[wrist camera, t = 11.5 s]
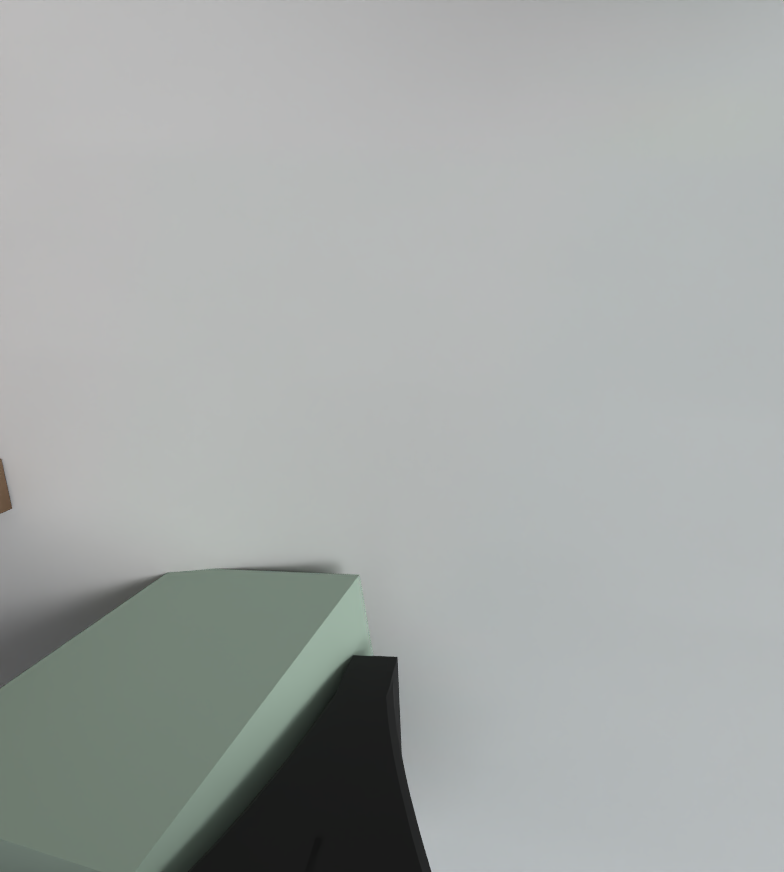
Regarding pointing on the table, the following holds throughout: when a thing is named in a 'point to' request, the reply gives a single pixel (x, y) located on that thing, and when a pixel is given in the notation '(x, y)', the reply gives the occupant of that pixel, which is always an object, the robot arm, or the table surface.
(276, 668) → the sage block
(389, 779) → the robot arm
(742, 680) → the table surface
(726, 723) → the table surface
